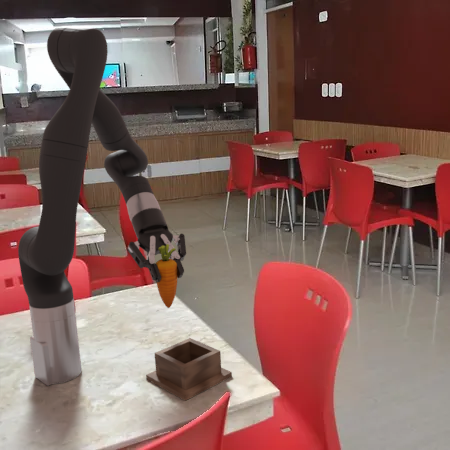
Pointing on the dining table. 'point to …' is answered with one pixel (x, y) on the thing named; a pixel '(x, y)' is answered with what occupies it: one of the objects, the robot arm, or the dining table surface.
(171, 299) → the carrot
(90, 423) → the dining table surface
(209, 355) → the socket block
